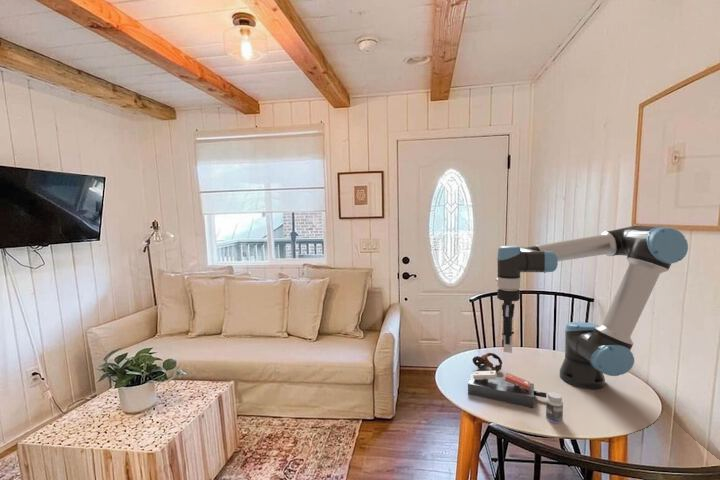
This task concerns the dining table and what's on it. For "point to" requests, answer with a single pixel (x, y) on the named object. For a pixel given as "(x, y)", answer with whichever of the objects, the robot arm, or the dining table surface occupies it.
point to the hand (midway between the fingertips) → (507, 351)
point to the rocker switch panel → (503, 391)
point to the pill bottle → (554, 407)
